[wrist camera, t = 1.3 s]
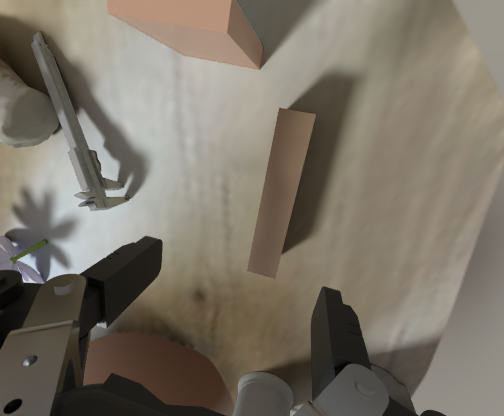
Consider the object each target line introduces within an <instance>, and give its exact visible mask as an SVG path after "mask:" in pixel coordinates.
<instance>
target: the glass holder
mask: <svg viewBox="0 0 504 416" xmlns="http://www.w3.org/2000/svg"><path fill="white" fill-rule="evenodd" d="M238 392H239V395H238V398H237V402H236V406H235V410H234V414H233V416H290V409H291V407H292V405H293V402H294V395H293V392H292V390H291V388H290V387H289V386H288V384H287V383H286V382H285V381H283V380H282V379H280V378H279V377H277V376H275V375H273V374H270V373H266V372H250V373H247V374H245V375H244V376H243V377H241V379H240V380H239V383H238Z"/></svg>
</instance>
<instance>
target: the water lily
mask: <svg viewBox="0 0 504 416" xmlns="http://www.w3.org/2000/svg"><path fill="white" fill-rule="evenodd" d="M46 243H47V242H46V241H45V240H43V241H41V242H40V243H38V244H36V245H35V246H33V247H31V248H30V249H28V250H26V251H24V252H23V253H21V254H19V255H17V256H16V250H15V247H14V245H13V243H12V242H11V241H10V240H9V239H8V238H7V237H5V236H0V244H1V245H2V246H3V247H4V249H5V250H6V251H7V252H8V253H7V252H6V251H5V250H4V249H2V248H1V247H0V270H16V271H19V269H20V271H21V273H22V276H23V278H24V279H25V280H26V281H28V276H29V277H30V278H31V279H32V280H33V281H35V282H37V283H40V284H43V283H44V280H43V279H42V277H41V276H40V275H39V274H38V273H37V272H36V271H35V270H34V269H33V268H32V267H30V266H28V265H27V264H25V263H23V262H20V261H17V260H18V259H19V258H21V257H23V256H25V255H27V254H29V253H30V252H32V251H34V250H36V249H37V248H39V247H41V246H43V245H44V244H46ZM15 256H16V257H15ZM16 264H17V265H16ZM17 266H18V267H19V269H18V267H17ZM20 271H19V272H20Z"/></svg>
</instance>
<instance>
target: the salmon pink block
mask: <svg viewBox="0 0 504 416" xmlns="http://www.w3.org/2000/svg"><path fill="white" fill-rule="evenodd" d="M107 8H108V14H110V15H112V16H114V17H116V18H117V19H119V20H121V21H123V22H124V23H126V24H128V25H130V26H132V27H133V28H135V29H137V30H139V31H140V32H142V33H144V34H146V35H148V36H149V37H151V38H153V39H155V40H156V41H158V42H160V43H162V44H164V45H165V46H167V47H169V48H171V49H173V50H174V51H176V52H178V53H180V54H181V55H183V56H187V57H193V58H198V59H203V60H209V61H214V62H220V63H225V64H230V65H236V66H241V67H246V68H252V69H257V70H260V65H261V60H262V54H263V49H264V48H263V47H262V43H261V42H260V40H259V38H258V36H257V35H256V33H255V31H254V29H253V28H252V26H251V24H250V23H249V21H248V19H247V17H246V16H245V14H244V12H243V10H242V9H241V7H240V5H239V3H238V2H237V0H107Z"/></svg>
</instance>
